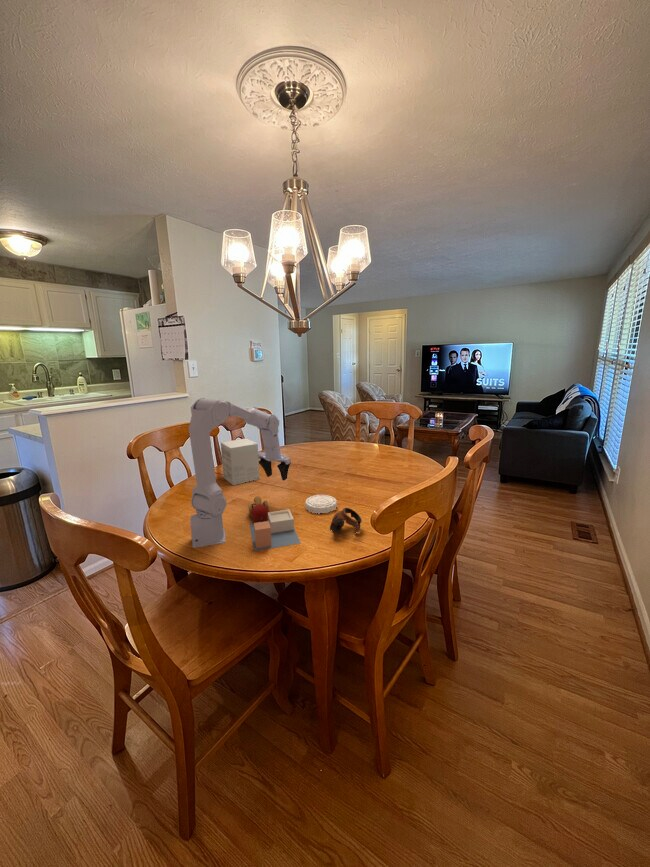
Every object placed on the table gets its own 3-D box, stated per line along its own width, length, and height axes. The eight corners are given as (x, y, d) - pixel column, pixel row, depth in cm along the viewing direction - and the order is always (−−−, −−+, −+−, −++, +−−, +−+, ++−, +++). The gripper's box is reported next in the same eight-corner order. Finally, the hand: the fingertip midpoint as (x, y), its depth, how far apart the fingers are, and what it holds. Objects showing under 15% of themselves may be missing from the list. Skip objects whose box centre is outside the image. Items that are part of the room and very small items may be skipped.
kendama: (245, 508, 131) (247, 523, 114) (247, 492, 131) (249, 505, 113) (265, 509, 133) (270, 524, 116) (267, 493, 133) (272, 506, 115)
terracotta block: (256, 548, 100) (255, 530, 99) (254, 540, 104) (253, 523, 103) (271, 545, 101) (270, 527, 100) (269, 538, 106) (268, 520, 104)
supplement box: (248, 471, 168) (246, 437, 164) (260, 479, 157) (258, 443, 154) (222, 477, 160) (219, 442, 157) (232, 485, 150) (229, 448, 146)
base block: (271, 533, 109) (270, 522, 108) (268, 522, 116) (267, 512, 115) (294, 529, 111) (293, 519, 110) (289, 519, 118) (289, 509, 117)
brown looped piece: (336, 522, 118) (348, 503, 116) (356, 540, 113) (369, 522, 111) (317, 528, 107) (330, 508, 105) (339, 549, 103) (353, 528, 101)
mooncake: (300, 505, 130) (299, 497, 129) (327, 499, 135) (327, 491, 135) (313, 518, 120) (313, 509, 119) (342, 511, 125) (342, 502, 124)
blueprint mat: (254, 552, 99) (254, 551, 99) (249, 525, 115) (249, 524, 115) (300, 544, 103) (300, 543, 103) (290, 519, 119) (290, 518, 118)
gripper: (293, 443, 124) (298, 476, 129) (264, 438, 132) (269, 469, 137) (281, 451, 119) (286, 484, 123) (251, 445, 126) (257, 477, 131)
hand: (277, 477), depth 130 cm, fingers open, 7 cm apart
